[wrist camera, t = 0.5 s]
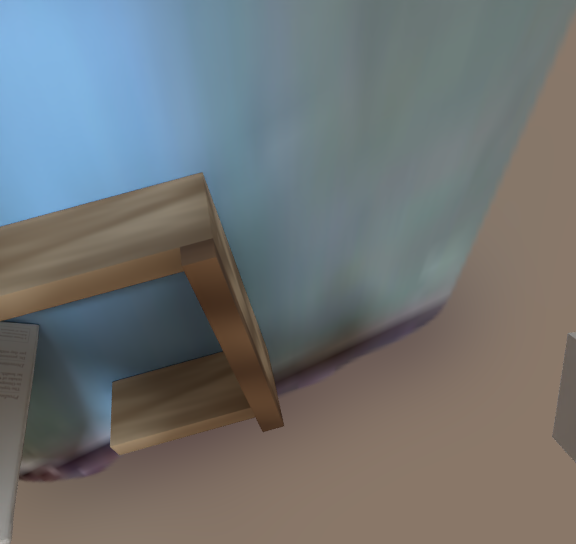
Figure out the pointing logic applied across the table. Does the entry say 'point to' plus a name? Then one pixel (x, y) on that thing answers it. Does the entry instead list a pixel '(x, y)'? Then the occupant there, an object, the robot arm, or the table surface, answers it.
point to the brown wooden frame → (137, 269)
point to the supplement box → (14, 411)
